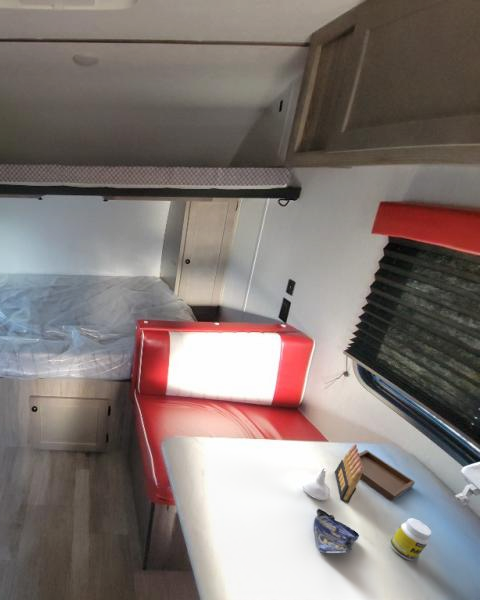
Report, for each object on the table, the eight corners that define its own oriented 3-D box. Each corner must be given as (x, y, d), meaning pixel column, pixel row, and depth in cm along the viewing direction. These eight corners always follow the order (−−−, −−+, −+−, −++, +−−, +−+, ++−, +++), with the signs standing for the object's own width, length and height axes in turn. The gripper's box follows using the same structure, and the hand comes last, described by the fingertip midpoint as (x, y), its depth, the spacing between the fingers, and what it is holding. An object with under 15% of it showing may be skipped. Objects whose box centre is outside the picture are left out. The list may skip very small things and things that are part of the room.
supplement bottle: (406, 563, 76) (424, 539, 73) (384, 542, 80) (400, 518, 77) (420, 558, 77) (439, 534, 74) (398, 537, 81) (414, 514, 78)
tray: (411, 487, 96) (415, 482, 96) (391, 501, 91) (394, 496, 90) (363, 454, 106) (366, 449, 106) (342, 465, 101) (345, 460, 100)
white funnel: (307, 500, 88) (318, 478, 85) (296, 480, 94) (306, 459, 91) (331, 505, 88) (344, 483, 85) (319, 484, 94) (330, 463, 91)
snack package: (288, 516, 84) (329, 566, 73) (300, 497, 82) (344, 546, 71) (323, 516, 87) (368, 565, 76) (336, 498, 85) (383, 545, 74)
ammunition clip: (348, 503, 89) (367, 470, 85) (340, 499, 90) (359, 466, 85) (342, 474, 98) (359, 443, 93) (334, 471, 99) (351, 440, 94)
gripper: (630, 560, 60) (538, 582, 64) (507, 466, 79) (442, 488, 83) (622, 539, 58) (528, 563, 63) (498, 449, 77) (433, 472, 82)
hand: (478, 520), depth 73 cm, fingers open, 8 cm apart
